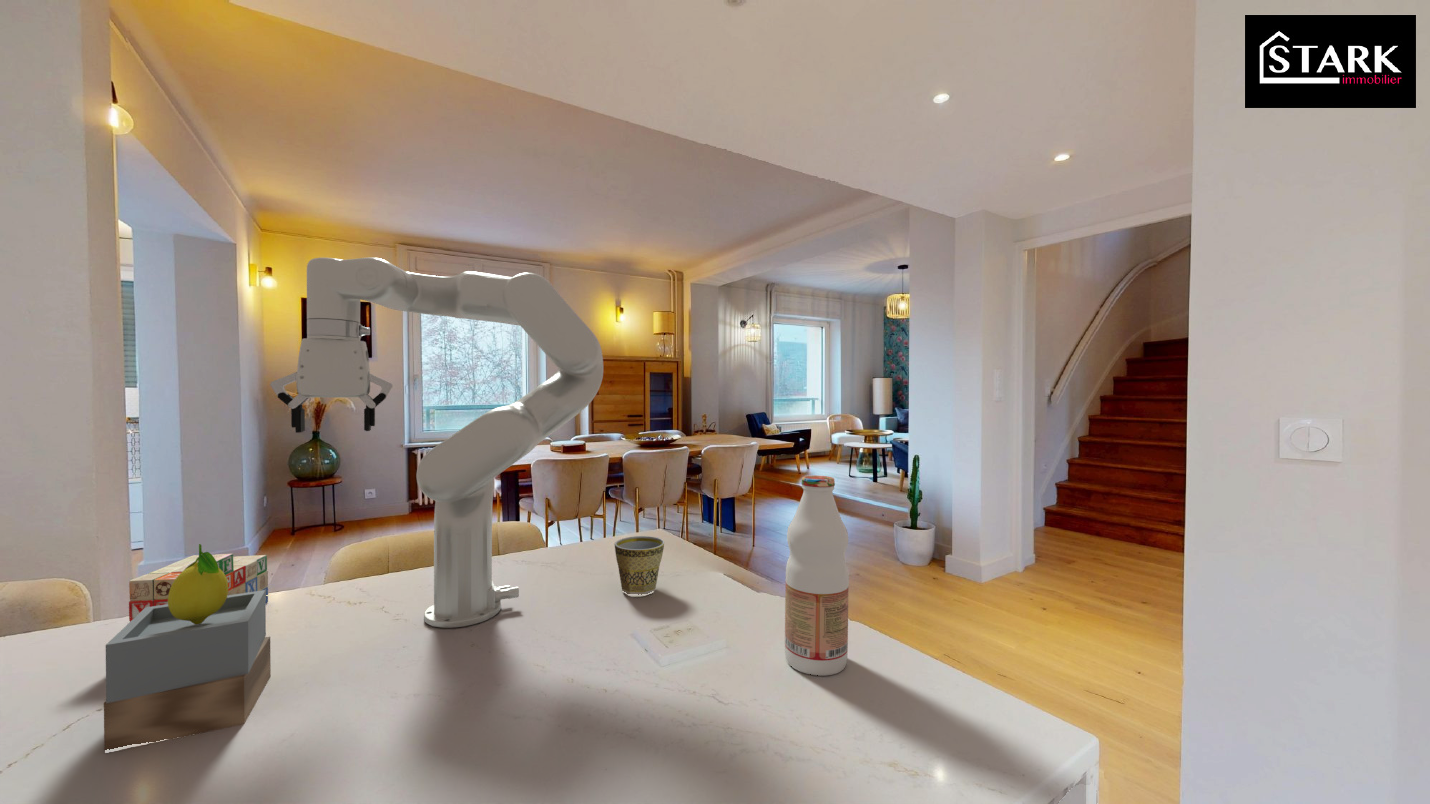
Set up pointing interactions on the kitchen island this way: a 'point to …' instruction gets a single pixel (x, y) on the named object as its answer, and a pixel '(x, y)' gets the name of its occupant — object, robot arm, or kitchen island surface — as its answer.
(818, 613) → the fruit juice
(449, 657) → the kitchen island surface
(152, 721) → the tower base block
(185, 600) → the lemon
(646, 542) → the ceramic cup
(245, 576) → the stack of blocks
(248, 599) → the tower top block
